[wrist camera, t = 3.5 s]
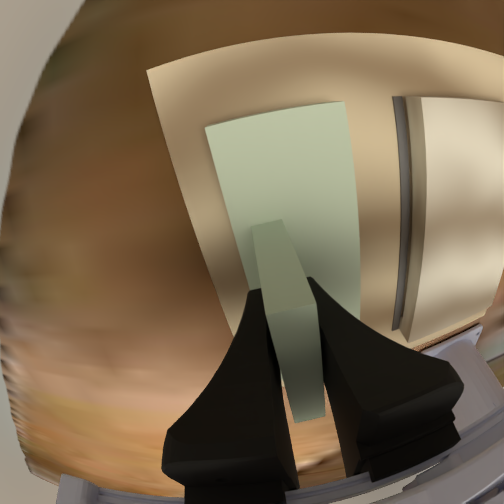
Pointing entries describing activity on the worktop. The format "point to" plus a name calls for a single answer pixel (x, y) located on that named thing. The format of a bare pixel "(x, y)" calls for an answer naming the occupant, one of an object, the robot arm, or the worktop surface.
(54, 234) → the worktop surface
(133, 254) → the worktop surface
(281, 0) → the worktop surface
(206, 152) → the board
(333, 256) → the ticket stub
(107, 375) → the worktop surface
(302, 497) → the robot arm
